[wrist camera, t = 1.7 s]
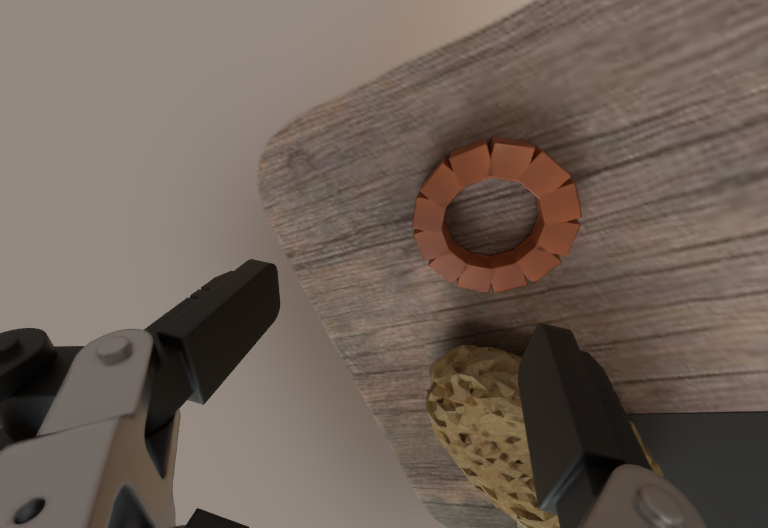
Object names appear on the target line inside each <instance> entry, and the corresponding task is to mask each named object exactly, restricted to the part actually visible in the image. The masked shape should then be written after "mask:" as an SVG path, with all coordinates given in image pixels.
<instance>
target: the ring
mask: <svg viewBox="0 0 768 528" xmlns="http://www.w3.org/2000/svg"><path fill="white" fill-rule="evenodd" d="M570 177H571V175H570V174H569V173H568V172H567V171H566V170H565V169H564V168H562V167H561V166H560V165H559V164H558V163H557V162H556V161H554V160H553V159H552V158H551V157H550V156H549V155H548V154H547V153H545V152H544V151H543V150H542V149H541V148H540V147H539V146H535V147H534V146H533V145H532V144H531V143H530V142H525V141H518V140H510V139H503V138H495V137H494V138H492V141H491V145H490V149H488V146H487V142H486V140H485V139H482V140H479V141H477V142H475V143H472V144H470V145H467V146H465V147H462V148H460V149H457V150H455V151H453V152H451V154H450V157H449V160H448V159H447V158H446V157H444V158H443V159H442V160H441V162H440V163H439V164H438V165H437V167H436V168H435V169H434V170H433V171H432V173H431V174H430V175H429V176H428V178H427V179H426V180H425V181H424V183H423V185H422V187H421V189H420V192H419V194H418V196H417V198H416V205H415V211H414V218H413V225H412V228H414V229H415V230H414V233H413V236H414V238H415V240H416V243H417V245H418V247H419V250H420V252H421V255H422V257H423V259H424V261H427V260H429V264H428V266H429V267H430V268H432V269H433V270H434V271H435V272H437V273H438V274H439V275H441V276H442V277H443V278H444V279H446V280H447V281H448V282H450V283H451V284H452V283H453V282H454V281H455V280H457V287H461V288H466V289H471V290H476V291H481V292H485V293H488V292H489V289H490V286H491V284H492V287H493V290H494V292H500V291H505V290H510V289H514V288H519V287H524V286H527V280H526V277H527V278H528V279H530V280H531V281H532V282H536V281H537V280H539V279H540V278H541V277H543V276H544V275H545V274H547V273H548V272H549V271H551V270H552V269H553V268H555V267H556V266H557V265H559V264H560V263H561V262H562V261H561V259H560V257H559V255H562V256H567V254H568V252H569V250H570V248H571V245H572V243H573V241H574V239H575V236H576V234H577V232H578V230H579V228H580V223H579V222H578V220H577V219H578V218H581V217H582V214H581V209H580V204H579V199H578V194H577V188H576V183H575V182H574V181H573V180H572V179H570ZM488 178H497V179H503V180H510V181H517V182H519V183H520V184H522V185H523V186H524V187H525V188H526V189H527V190H529V191H530V192H531V193H532V194H533V195H534V196H535V199H536V203H537V207H538V211H539V214H538V217H537V219H536V222H535V225H534V228H533V230H532V233H531V235H530V236H529V237H527V238H526V239H525V240H524V241H523V242H522V243H520V244H519V245H518V246H517V247H516V248H515V249H513V250H512V251H508V252H504V253H500V254H496V255H492V256H488V255H482V254H477V253H472V252H467V251H466V250H465V249H464V248H462V247H461V246H460V245H459V244H457V243H456V242H455V241H453V240H452V239H451V237H450V234H449V231H448V229H447V226H446V223H445V221H444V217H445V212H446V207H447V205H448V204H449V203H450V202H451V201H452V200H453V199H454V198H455V197H456V196H457V194H458V193H459V192H460V191H461V190H462V189H463V188H464V187H466V186H468V185H471V184H474V183H477V182H479V181H482V180H485V179H488ZM525 276H526V277H525Z"/></svg>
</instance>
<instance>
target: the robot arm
mask: <svg viewBox="0 0 768 528" xmlns="http://www.w3.org/2000/svg"><path fill="white" fill-rule="evenodd" d="M279 309H280V295H279V283H278V272H277V267H276V266H275V265H274V264H271V263H267V262H262V261H257V260H253V259H250V260H248V261H246V262H245V263H244V264H243V265H241V266H240V267H239V268H237V269H236V270H235V271H230V272H227V273H225V274H223V275H220V276H217V277H215V278H213V279H212V280H211V281H210V282H208V283H207V284H205V285H204V286H203V287H201V290H197V291H196V292H194V293H193V294H192V295H191V296H190V298H186V299H185V300H184V301H182V302H181V303H180V304H178V305H177V306H175V307H174V308H173V309H172V310H170V311H169V312H167V313H166V314H165V315H163V316H162V317H160V318H159V319H158V320H156V321H155V322H154V323H152V324H151V325H150V326H148V327H147V328H146V329H144V330H140V329H126V330H119V331H115V332H112V333H109V334H106V335H103V336H101V337H99V338H97V339H96V340H94V341H92V342H90V343H89V344H87V345H86V346H71V347H70V346H66V347H65V346H64V347H63V346H62V347H54V346H53V344H52V343H51V341H50V339H49V337H48V336H47V334H46V333H45V332H44V331H43V330H40V329H35V328H23V329H16V330H10V331H7V332H3V333H0V427H1V428H0V528H249V527H248V526H245V525H242V524H239V523H237V522H234V521H231V520H228V519H226V518H223V517H220V516H217V515H215V514H212V513H209V512H207V511H204V510H201V509H198V508H197V509H196V511H195V512H194V514H193V516H192V517H191V518H190V520H189V521H188V523H187V525H181V526H175V506H174V500H173V476H174V468H175V460H176V451H177V442H178V433H179V425H180V410H179V408H180V407H181V406H182V405H183V404H184V403H185V402H186V400H190V401H193V402H196V403H200V404H203V405H204V404H205V403H206V401H207V400H208V399H209V398H210V397H211V396H212V395H213V393H214V392H215V391H216V390H217V389H218V387H219V386H220V385H221V384H222V383H223V381H224V380H225V379H226V378H227V377H228V376H229V374H230V373H231V372H232V371H233V370H234V369H235V367H236V366H237V365H238V364H239V363H240V361H241V360H242V359H243V358H244V357H245V355H246V354H247V353H248V352H249V351H250V350H251V348H252V347H253V346H254V345H255V344H256V342H257V341H258V340H259V339H260V338H261V337H262V335H263V334H264V333H265V332H266V331H267V329H268V328H269V327H270V326H271V325H272V323H273V322H274V321H275V319H276V318H277V316H278V313H279ZM518 387H519V393H520V400H521V406H522V412H523V418H524V424H525V430H526V436H527V442H528V449H529V455H530V461H531V467H532V473H533V479H534V485H535V491H536V497H537V504H538V509H539V510H542V511H546V512H549V513H552V514H556V515H557V516H558V520H559V525H560V528H710V527H708V526H707V525H706V524H705V522H704V520H703V518H702V517H701V515H700V514H699V512H698V511H697V509H696V508H695V507H694V506H693V504H692V503H691V502H690V501H689V500H688V499H687V497H686V496H685V495H684V494H683V493H682V492H681V491H679V490H678V489H677V488H676V487H675V486H674V485H673V484H671V483H670V482H669V481H668V480H666V479H665V478H663V477H662V476H660V475H658V474H657V473H655V472H653V470H652V469H651V466H650V464H649V462H648V460H647V458H646V456H645V454H644V452H643V450H642V448H641V446H640V444H639V441H638V439H637V437H636V435H635V433H634V431H633V429H632V427H631V425H630V423H629V421H628V419H627V416H626V414H625V412H624V410H623V408H622V407H620V402H619V400H618V398H617V396H616V393H615V391H612V388H613V387H612V385H611V383H610V381H609V379H608V377H607V375H606V373H605V371H604V369H603V368H602V367H601V366H600V365H599V364H598V363H597V362H596V360H595V359H594V358H593V357H592V356H591V355H590V354H589V353H587V352H582V351H580V350H579V347H578V345H577V342H576V340H575V338H574V335H573V333H572V332H571V330H569V329H564V328H560V327H555V326H551V325H546V324H542V323H540V324H538V325H537V327H536V328H535V330H534V333H533V335H532V337H531V339H530V342H529V344H528V346H527V348H526V350H525V353H524V355H523V357H522V359H521V362H520V365H519V369H518Z"/></svg>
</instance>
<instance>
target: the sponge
mask: <svg viewBox="0 0 768 528" xmlns="http://www.w3.org/2000/svg"><path fill="white" fill-rule="evenodd" d="M521 359H522V358H521V357H519V356H517V355H514V354H512V353H509V352H506V351H503V350H500V349H496V348H492V347H477V346H475V345H461V346H459V347H457V348H455V349H452V350H450V351H449V352H448V353H446V354H445V355H444V356H443V357H441V358H440V359H438V360H437V361H435V362H434V363H433V364H432V367H431V370H430V377H431V386H430V389H431V390H427V396H426V412H427V414H428V416H429V418H430V421H431V424H432V428H433V431H434V434H435V436H436V437H437V439H438V440H439V441H440V443H441V444H442V446H443V447H444V449H445V450H446V451H447V452H448V453H449V454H450V456H451V457H452V458H453V459H454V461H455V462H456V464H457V465H458V466H459V467H460V468H461V469H462V471H463V472H464V474H465V476H466V477H467V478H468V479H469V481H470V482H471V483H472V484H473V485H474V487H475V488H477V489H478V490H479V491H481V492H482V493H484V494H485V495H487V496H488V497H489V499H490V500H491V501H492V503H493V504H494V506H495V507H496V508H497V509H499V510H501V511H503V512H505V513H506V514H507V515H508V516H511V517H512V518H513V519H514V520H515V521H517V523H518V524H517V528H560V525H559V520H558V516H557V515H556V514H552V513H549V512H546V511H542V510H539V509H538V504H537V497H536V491H535V485H534V479H533V473H532V467H531V461H530V455H529V449H528V442H527V436H526V430H525V424H524V418H523V412H522V406H521V400H520V393H519V387H518V369H519V365H520V362H521ZM628 421H629V420H628ZM629 423H630V425H631V427H632V429H633V431H634V433H635V435H636V437H637V439H638V441H639V444H640V446H641V448H642V450H643V452H644V454H645V456H646V458H647V460H648V462H649V464H650V466H651V469H652V470H653V472H655V473H657V474H658V475H660V476H662V477H663V476H664V474H663V472H662V470H661V468H660V466H659V464H658V463H657V462H656V461H654V460H653V458H652V456H651V453H650V450H649V449H648V448H647V447H646V446H645V445H644V444H643V443H642V440H641V438H640V435H639V433H638V431H637V429H636V428H635V426H634V424H633V422H631V421H629Z"/></svg>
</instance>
